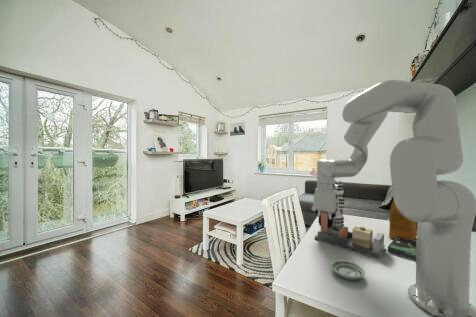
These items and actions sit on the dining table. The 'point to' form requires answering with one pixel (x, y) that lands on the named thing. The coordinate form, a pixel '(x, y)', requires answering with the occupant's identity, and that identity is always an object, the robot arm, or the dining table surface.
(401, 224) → the coffee package
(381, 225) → the dining table surface
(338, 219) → the decorative candle
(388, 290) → the dining table surface
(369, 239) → the maple block
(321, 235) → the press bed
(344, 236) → the reddish brown stepped block
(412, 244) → the disk drive
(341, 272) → the saucer
